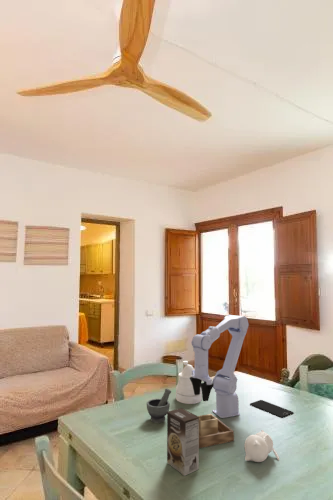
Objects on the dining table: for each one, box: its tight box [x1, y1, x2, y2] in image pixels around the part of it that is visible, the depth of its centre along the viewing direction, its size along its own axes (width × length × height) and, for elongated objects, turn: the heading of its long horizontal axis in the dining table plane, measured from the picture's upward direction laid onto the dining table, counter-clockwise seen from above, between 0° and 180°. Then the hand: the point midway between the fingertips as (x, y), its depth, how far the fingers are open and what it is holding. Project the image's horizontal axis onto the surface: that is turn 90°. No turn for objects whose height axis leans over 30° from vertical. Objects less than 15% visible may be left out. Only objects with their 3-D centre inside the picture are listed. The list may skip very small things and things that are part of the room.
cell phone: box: [249, 399, 294, 419], centre depth 149 cm, size 9×18×1 cm, turn 35°
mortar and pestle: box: [146, 388, 172, 424], centre depth 138 cm, size 11×9×12 cm
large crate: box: [199, 417, 235, 449], centre depth 123 cm, size 15×15×4 cm
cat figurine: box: [244, 430, 280, 463], centre depth 108 cm, size 9×11×12 cm
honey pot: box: [175, 360, 203, 405], centre depth 162 cm, size 13×13×18 cm
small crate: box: [197, 413, 219, 437], centre depth 124 cm, size 7×5×6 cm
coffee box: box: [166, 407, 200, 477], centre depth 104 cm, size 9×6×16 cm
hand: (201, 397), depth 134 cm, fingers open, 7 cm apart
